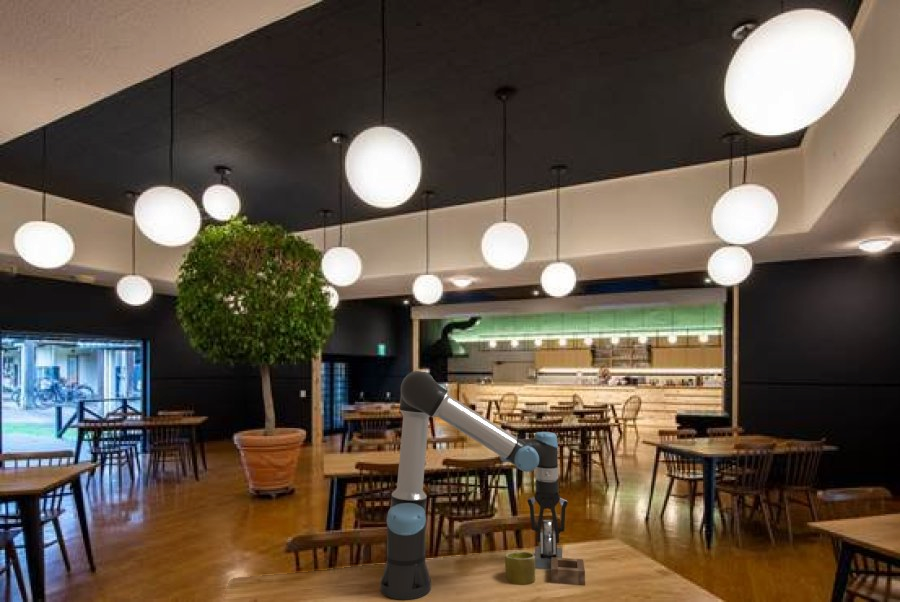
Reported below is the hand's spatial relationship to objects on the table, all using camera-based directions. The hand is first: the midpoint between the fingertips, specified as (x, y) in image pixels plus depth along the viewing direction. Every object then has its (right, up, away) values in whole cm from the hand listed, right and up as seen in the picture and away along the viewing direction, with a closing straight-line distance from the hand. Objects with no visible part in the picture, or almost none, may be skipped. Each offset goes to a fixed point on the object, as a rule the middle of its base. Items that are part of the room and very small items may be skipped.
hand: (548, 552), depth 177 cm
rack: (+4, -4, -10) cm, 12 cm away
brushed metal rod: (0, -4, 0) cm, 4 cm away
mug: (-10, -4, -10) cm, 15 cm away
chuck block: (+1, -5, +2) cm, 6 cm away
